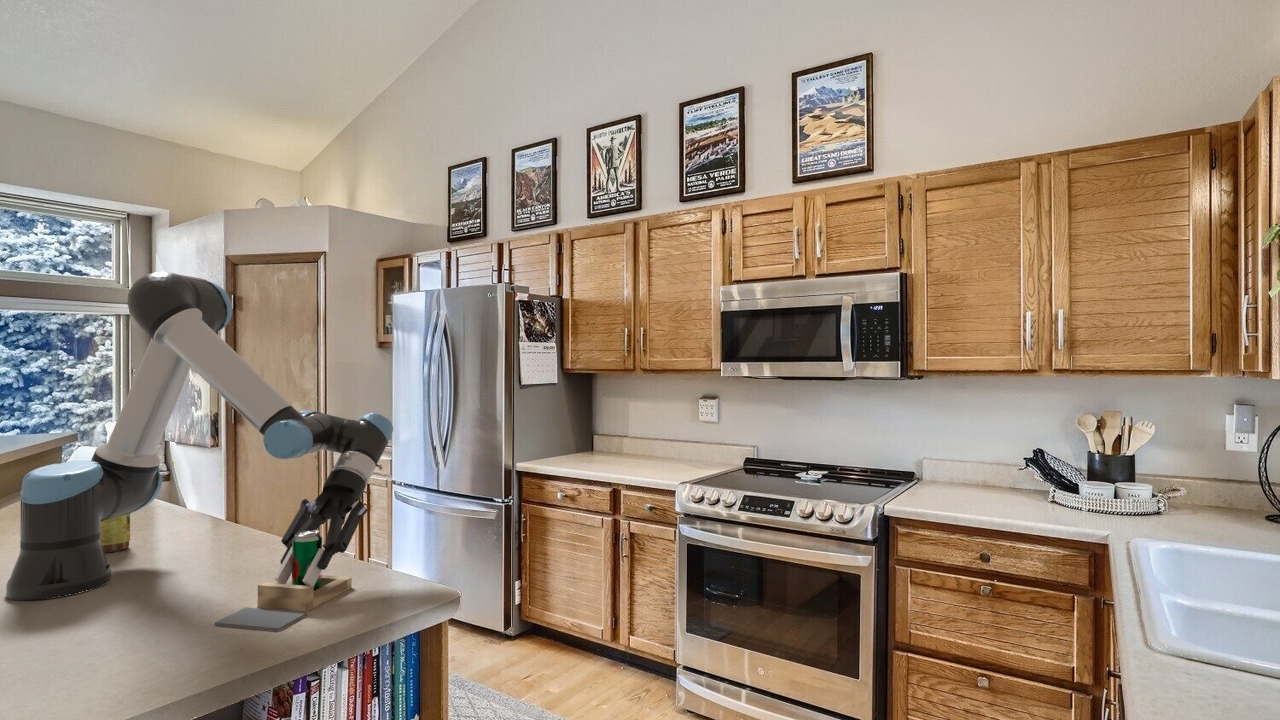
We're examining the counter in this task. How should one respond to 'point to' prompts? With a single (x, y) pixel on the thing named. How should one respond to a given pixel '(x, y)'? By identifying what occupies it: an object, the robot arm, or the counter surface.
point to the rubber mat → (261, 619)
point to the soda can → (305, 556)
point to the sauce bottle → (115, 533)
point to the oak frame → (300, 594)
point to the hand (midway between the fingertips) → (293, 583)
